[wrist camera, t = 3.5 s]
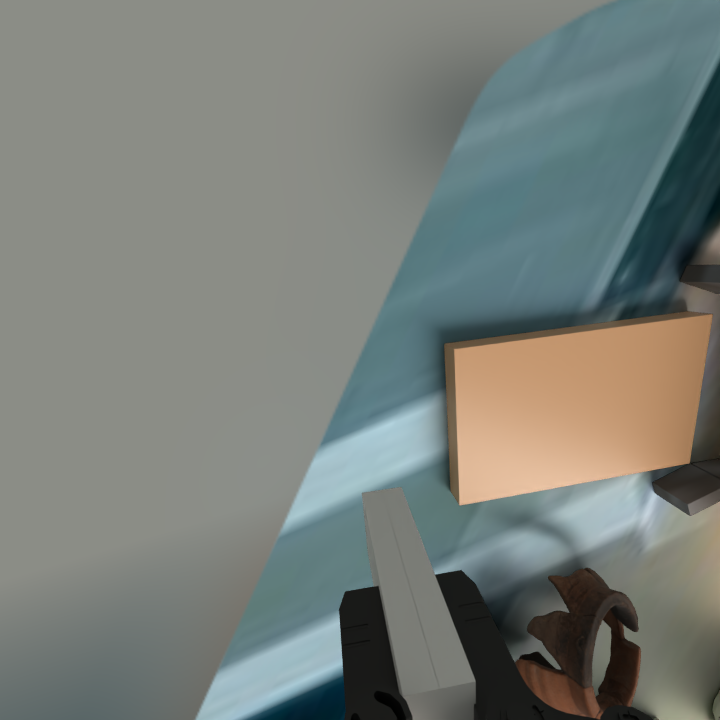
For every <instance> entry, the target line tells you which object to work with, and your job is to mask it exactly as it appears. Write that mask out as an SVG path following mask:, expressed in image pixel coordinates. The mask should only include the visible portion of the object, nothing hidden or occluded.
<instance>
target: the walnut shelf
mask: <svg viewBox="0 0 720 720" xmlns="http://www.w3.org/2000/svg"><path fill="white" fill-rule="evenodd" d="M680 282H683V283H686V284H689V285H692V286H695V287H698V288H701V289H704V290H707V291H710V292H714V293H717V294H720V265H687V266H686V269H685V271H684V273H683V275H682V278H681V280H680ZM653 487H654V491H655V493H656V494H657V495H659V496H660V497H662V498H663V499H665V500H666V501H668V502H669V503H671V504H672V505H674V506H676V507H677V508H679V509H680V510H682V511H683V512H685V513H686V514H688V515H689V516H692V515H694V514H696V513H698V512H700V511H702V510H704V509H706V508H708V507H710V506H712V505H714V504H716V503H718V502H720V459H714V460H708V461H702V462H696V463H692V465H691V464H689V465H687V466H685V467H683V468H681V469H679V470H677V471H675V472H673V473H671V474H669V475H667V476H665V477H663V478H661V479H659V480H657V481H655V482H653Z"/></svg>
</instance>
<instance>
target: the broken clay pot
mask: <svg viewBox="0 0 720 720" xmlns="http://www.w3.org/2000/svg"><path fill="white" fill-rule="evenodd" d="M548 579H549V581H551V582H552V583H553V585H554V586H555V587H556V589H557V590H558V592H559V593H560V596H561V597H562V599H563V601H564V603H565V604H566V606H567V608H568V610H569V612H570V613H567V612H563V611H554V612H551V613H549V614H546V615H544V616H536V617H534V618H533V619H532V620H531V622H530V623H529V625H528V627H527V631H528V633H530V634H531V635H533V636H534V637H535V638H537V639H538V640H541V641H542V643H543V645H544V646H545V648H546V649H547V651H548V652H549V653H550V654H551V655H552V656H553V657H554V659H555V660H556V661H557V663H558V664H559V666H560V667H561V670H558V669H556V668H554V667H553V666H552V665H551V664H550V663H549V662H548V661H547V660H546V659H545V658H544V657H543V656H542V655H541V654H540V653H539V652H533V653H531V654H525V655H521V656H520V658H519V659H518V660H517V661H516V662H515V664H516V666H517V668H518V670H519V672H520V674H521V676H522V678H523V680H524V681H525V683H526V684H527V686H528V687H529V688H530V689H531V691H532V692H533V693H534V694H535V695H536V696H537V697H538V698H540V699H541V700H542V701H543V702H545V703H546V704H548V705H549V706H551V707H553V708H555V709H557V710H560V711H563V712H566V713H570V714H575V715H580V716H585V717H590V718H595V719H600V716H601V715H602V714H603V712H604V711H605V710H606V708H608V707H611V706H615V705H623V706H628V707H631V704H632V701H633V697H634V694H635V691H636V687H637V681H638V677H639V670H640V662H641V660H640V659H641V650H640V647H639V646H638V645H636V644H634V643H633V642H630V641H628V640H626V639H625V637H624V629H623V625H625V626H626V627H627V628H629V629H630V630H632V631H634V632H637V631H638V617H637V614H636V611H635V608H634V606H633V604H632V602H631V601H630V599H629V598H628V597H627V596H626V595H625V594H623V593H622V592H619V591H615V590H612V589H609V587H608V586H607V584H606V583H605V582H604V580H603V579H602V578H601V577H600V576H599V575H598V574H597V573H596V572H595V571H593V570H591V569H590V568H585V569H580V570H577V571H575V572H574V573H573V574H572V575H570V576H568V577H562V576H548ZM602 620H604V621H605V622H606V623H607V624H608V625H609V626H610V627H611V636H612V638H611V657H610V662H609V664H608V667H607V670H606V673H605V677H604V680H603V682H602V684H601V685H600V687H599V689H598V692H599V695H598V696H596V697H595V694H594V689H593V686H592V659H593V651H594V646H595V640H596V637H597V632H598V629H599V627H600V625H601V622H602Z"/></svg>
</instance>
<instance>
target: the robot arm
mask: <svg viewBox="0 0 720 720" xmlns="http://www.w3.org/2000/svg"><path fill="white" fill-rule="evenodd" d="M362 498H363V508H364V518H365V528H366V538H367V549H368V556H369V561H370V567H371V573H372V578H373V584H374V587H369V588H363V589H357V590H352V591H346V592H345V594H344V596H343V599H342V602H341V605H340V608H339V614H340V629H341V644H342V659H343V674H344V689H345V704H346V713H345V720H653V719H652V718H651V717H650V716H648V715H646V714H644V713H643V712H641V711H639V710H637V709H635V708H633V707H628V706H623V705H615V706H611V707H608V708H606V710H605V711H604V712H603V714H602V715H601V716H600V719H595V718H590V717H585V716H580V715H575V714H570V713H566V712H563V711H560V710H557V709H555V708H553V707H551V706H549V705H548V704H546V703H545V702H543V701H542V700H541V699H540V698H538V697H537V696H536V695H535V694H534V693H533V692H532V691H531V689H530V688H529V687H528V686H527V684H526V683H525V681H524V680H523V678H522V676H521V674H520V672H519V670H518V668H517V666H516V664H515V662H514V660H513V658H512V656H511V654H510V652H509V650H508V648H507V646H506V644H505V642H504V640H503V638H502V636H501V634H500V632H499V630H498V628H497V626H496V624H495V622H494V620H493V619H492V617H491V614H490V612H489V610H488V608H487V606H486V605H485V604H484V600H483V598H482V596H481V594H480V592H479V590H478V588H477V586H476V584H475V583H474V582H473V581H472V580H471V579H470V578H469V577H468V576H467V575H466V574H465V573H464V572H463V571H462V570H460V571H454V572H448V573H442V574H437V575H435V574H434V571H433V569H432V566H431V563H430V561H429V558H428V556H427V553H426V550H425V548H424V545H423V542H422V540H421V537H420V535H419V532H418V529H417V527H416V524H415V522H414V519H413V516H412V514H411V511H410V509H409V506H408V503H407V501H406V498H405V496H404V493H403V490H402V488H401V487H398V488H391V489H385V490H378V491H371V492H365V493H362Z"/></svg>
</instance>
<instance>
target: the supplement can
mask: <svg viewBox="0 0 720 720" xmlns="http://www.w3.org/2000/svg"><path fill="white" fill-rule="evenodd" d="M712 711H713V714H714V717H715V720H720V691H719V693H718V695H717V696H716V698H715V700H714V704H713V710H712Z"/></svg>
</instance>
